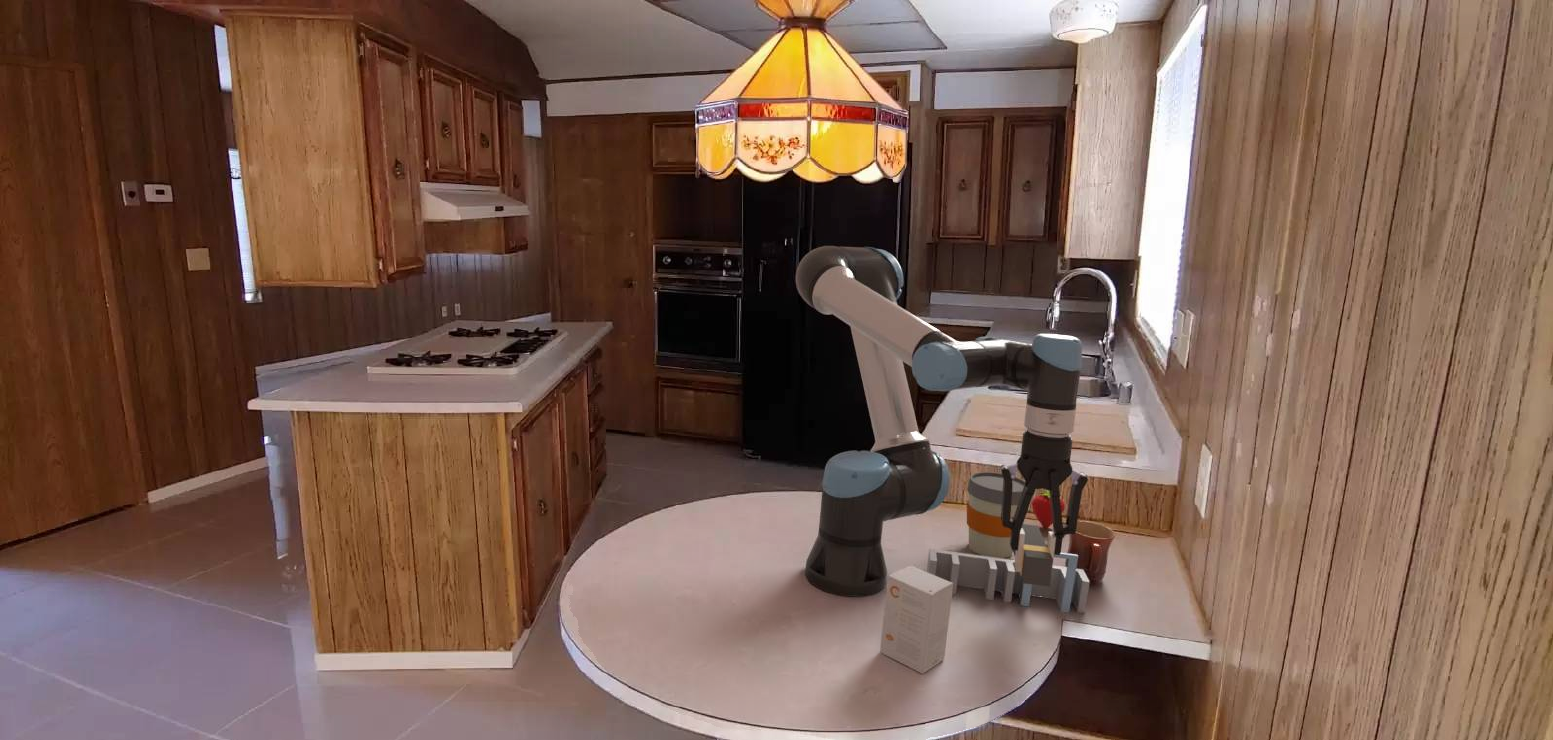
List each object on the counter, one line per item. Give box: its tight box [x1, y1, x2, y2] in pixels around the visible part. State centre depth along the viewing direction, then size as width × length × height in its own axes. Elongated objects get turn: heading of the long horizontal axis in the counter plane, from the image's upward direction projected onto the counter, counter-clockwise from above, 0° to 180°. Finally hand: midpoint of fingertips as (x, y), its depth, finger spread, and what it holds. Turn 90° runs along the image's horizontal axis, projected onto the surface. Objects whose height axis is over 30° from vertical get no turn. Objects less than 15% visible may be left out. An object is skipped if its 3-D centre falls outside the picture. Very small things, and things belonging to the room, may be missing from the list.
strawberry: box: [1031, 490, 1066, 529], centre depth 181 cm, size 6×8×10 cm
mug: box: [1064, 520, 1117, 586], centre depth 155 cm, size 12×9×10 cm
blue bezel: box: [1019, 552, 1078, 613], centre depth 142 cm, size 8×1×11 cm, turn 81°
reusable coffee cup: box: [966, 471, 1025, 559], centre depth 166 cm, size 13×13×15 cm
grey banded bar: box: [1012, 523, 1054, 587], centre depth 133 cm, size 4×16×5 cm, turn 170°
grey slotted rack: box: [926, 548, 1090, 614], centre depth 147 cm, size 28×5×6 cm, turn 81°
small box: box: [879, 565, 953, 675], centre depth 123 cm, size 8×6×13 cm
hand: (1032, 570), depth 131 cm, fingers closed on grey banded bar, 4 cm apart
